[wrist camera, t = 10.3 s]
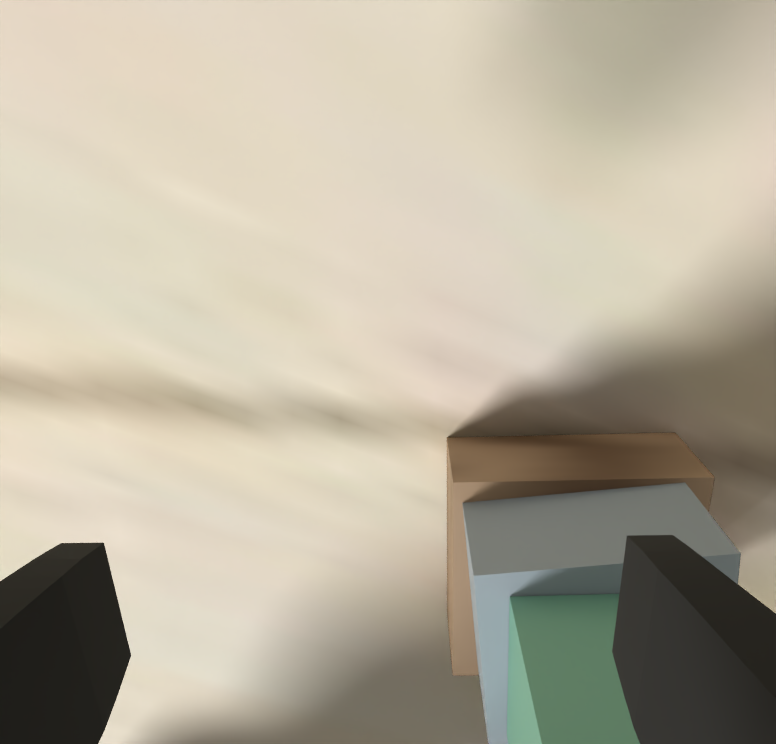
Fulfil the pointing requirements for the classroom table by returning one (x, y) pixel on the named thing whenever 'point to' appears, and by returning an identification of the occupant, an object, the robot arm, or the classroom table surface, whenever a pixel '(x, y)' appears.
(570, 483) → the walnut base block
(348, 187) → the classroom table surface
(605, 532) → the slate-grey block
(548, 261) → the classroom table surface
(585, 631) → the light green block
